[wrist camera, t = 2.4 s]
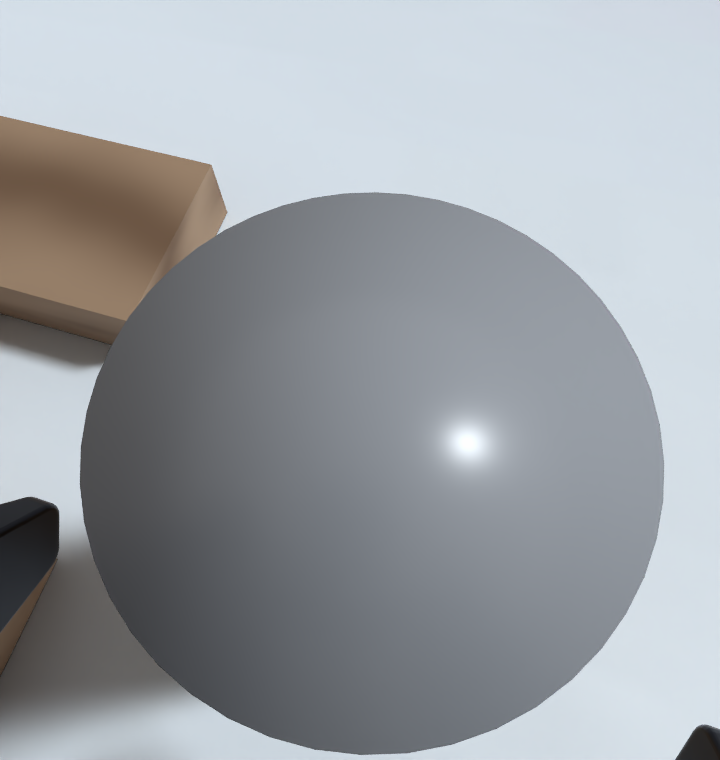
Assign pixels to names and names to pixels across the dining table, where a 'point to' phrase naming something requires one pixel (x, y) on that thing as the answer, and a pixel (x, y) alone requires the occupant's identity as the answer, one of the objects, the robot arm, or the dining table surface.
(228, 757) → the dining table surface
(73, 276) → the notched board
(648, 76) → the dining table surface
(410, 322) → the bobbin
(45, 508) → the robot arm
